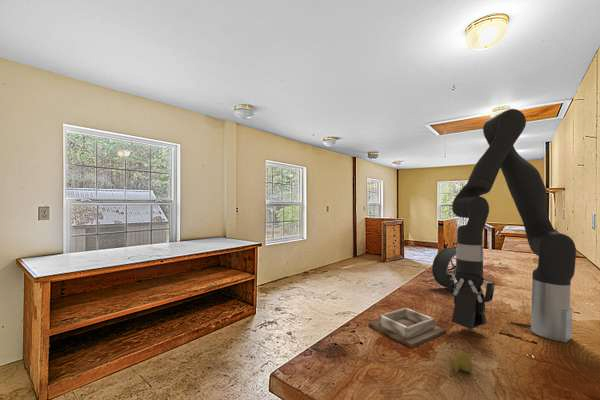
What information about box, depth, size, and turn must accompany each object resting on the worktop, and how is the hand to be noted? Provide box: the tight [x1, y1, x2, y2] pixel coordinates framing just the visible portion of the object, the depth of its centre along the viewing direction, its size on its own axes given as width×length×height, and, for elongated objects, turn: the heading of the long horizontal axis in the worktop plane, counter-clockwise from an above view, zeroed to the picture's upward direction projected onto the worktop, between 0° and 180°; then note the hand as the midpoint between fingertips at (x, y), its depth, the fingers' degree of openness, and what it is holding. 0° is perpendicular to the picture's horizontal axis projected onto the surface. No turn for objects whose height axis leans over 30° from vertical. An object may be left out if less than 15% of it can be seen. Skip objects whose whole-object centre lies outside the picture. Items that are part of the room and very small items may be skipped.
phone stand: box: [451, 287, 487, 330], centre depth 89 cm, size 9×6×12 cm, turn 119°
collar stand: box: [368, 306, 447, 349], centre depth 90 cm, size 16×18×4 cm
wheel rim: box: [431, 247, 458, 289], centre depth 134 cm, size 20×9×20 cm, turn 105°
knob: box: [448, 349, 474, 374], centre depth 68 cm, size 5×5×5 cm
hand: (468, 309), depth 89 cm, fingers closed on phone stand, 6 cm apart
